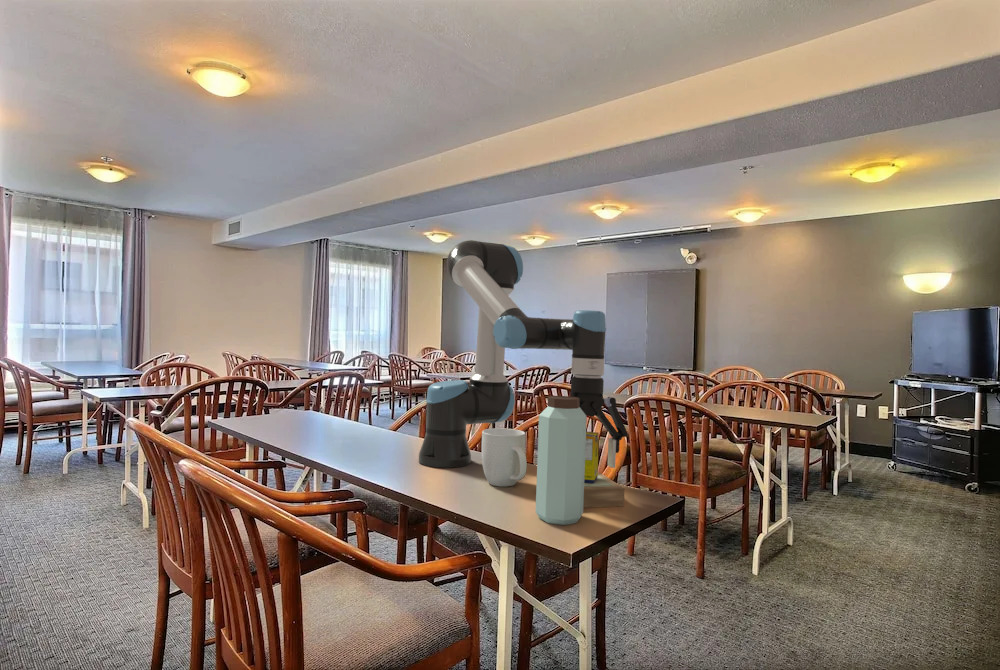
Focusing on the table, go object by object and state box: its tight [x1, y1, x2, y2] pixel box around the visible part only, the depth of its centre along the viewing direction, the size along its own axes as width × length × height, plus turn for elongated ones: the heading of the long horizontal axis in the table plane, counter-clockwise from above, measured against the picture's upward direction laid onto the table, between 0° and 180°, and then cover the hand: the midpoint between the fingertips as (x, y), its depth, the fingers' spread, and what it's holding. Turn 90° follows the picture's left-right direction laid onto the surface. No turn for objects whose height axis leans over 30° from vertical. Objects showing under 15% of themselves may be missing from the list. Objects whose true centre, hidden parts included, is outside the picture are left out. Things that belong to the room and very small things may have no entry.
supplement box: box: [584, 431, 600, 484], centre depth 130 cm, size 6×6×11 cm
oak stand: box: [583, 472, 625, 509], centre depth 130 cm, size 14×14×4 cm
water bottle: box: [535, 395, 588, 526], centre depth 115 cm, size 10×10×25 cm
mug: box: [481, 427, 528, 488], centre depth 138 cm, size 15×11×13 cm
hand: (584, 467), depth 130 cm, fingers open, 13 cm apart
